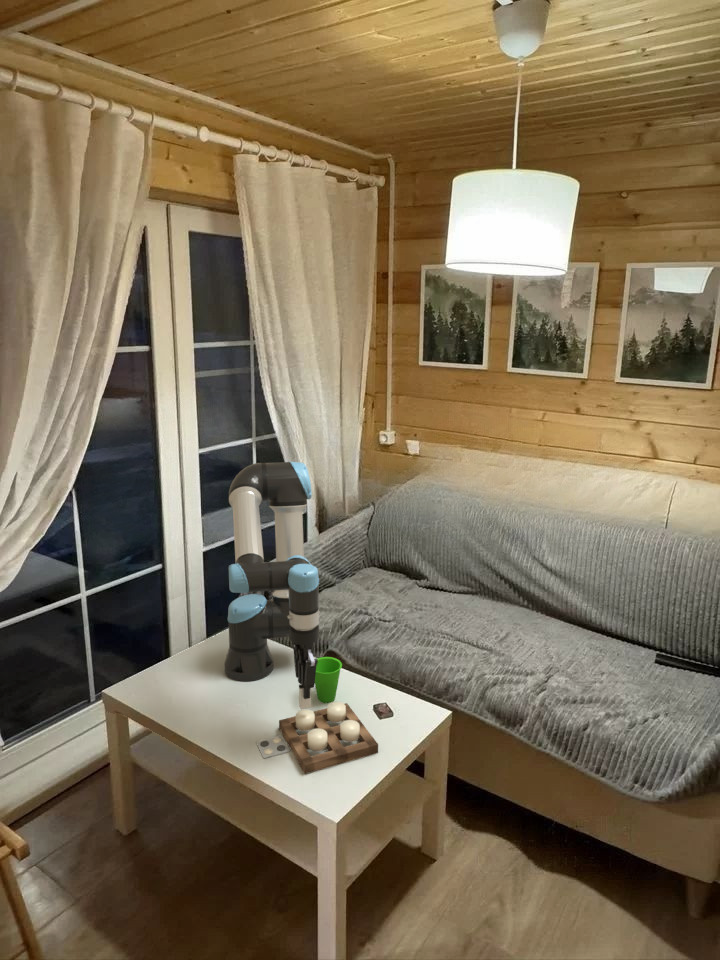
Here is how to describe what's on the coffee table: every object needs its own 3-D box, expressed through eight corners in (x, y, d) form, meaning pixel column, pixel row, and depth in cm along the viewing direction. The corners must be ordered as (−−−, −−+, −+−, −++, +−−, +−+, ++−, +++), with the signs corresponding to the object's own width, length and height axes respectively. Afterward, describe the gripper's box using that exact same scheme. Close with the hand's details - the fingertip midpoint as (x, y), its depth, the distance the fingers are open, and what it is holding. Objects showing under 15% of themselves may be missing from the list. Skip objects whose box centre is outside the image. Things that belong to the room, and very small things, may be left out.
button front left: (337, 732, 178) (337, 722, 177) (354, 728, 180) (354, 718, 179) (344, 743, 174) (344, 733, 173) (362, 738, 176) (362, 728, 175)
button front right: (304, 741, 175) (304, 731, 174) (323, 736, 177) (323, 726, 176) (311, 753, 170) (311, 742, 169) (330, 747, 172) (330, 737, 171)
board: (279, 728, 185) (279, 720, 184) (346, 710, 193) (346, 703, 192) (304, 774, 167) (304, 765, 166) (378, 752, 175) (378, 744, 175)
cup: (337, 709, 193) (338, 674, 191) (307, 705, 195) (306, 671, 192) (345, 691, 202) (345, 658, 199) (315, 688, 204) (315, 655, 201)
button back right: (293, 722, 182) (293, 712, 182) (310, 717, 184) (310, 707, 184) (299, 732, 178) (299, 722, 177) (317, 727, 180) (317, 718, 179)
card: (255, 742, 179) (255, 741, 178) (281, 736, 181) (281, 734, 181) (263, 759, 172) (263, 757, 172) (290, 751, 175) (290, 750, 175)
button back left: (324, 714, 186) (324, 704, 185) (341, 709, 188) (341, 700, 187) (331, 724, 182) (331, 714, 181) (348, 719, 184) (348, 709, 183)
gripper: (281, 616, 178) (283, 697, 184) (298, 638, 166) (300, 723, 172) (308, 611, 181) (309, 691, 187) (327, 632, 169) (327, 716, 175)
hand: (305, 706), depth 179 cm, fingers closed
